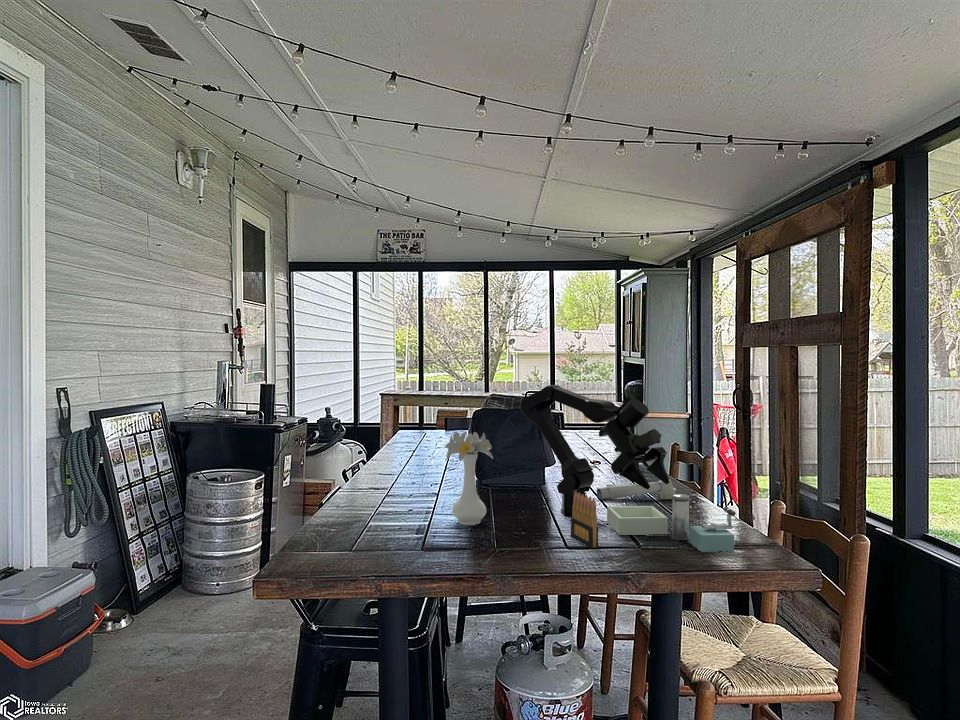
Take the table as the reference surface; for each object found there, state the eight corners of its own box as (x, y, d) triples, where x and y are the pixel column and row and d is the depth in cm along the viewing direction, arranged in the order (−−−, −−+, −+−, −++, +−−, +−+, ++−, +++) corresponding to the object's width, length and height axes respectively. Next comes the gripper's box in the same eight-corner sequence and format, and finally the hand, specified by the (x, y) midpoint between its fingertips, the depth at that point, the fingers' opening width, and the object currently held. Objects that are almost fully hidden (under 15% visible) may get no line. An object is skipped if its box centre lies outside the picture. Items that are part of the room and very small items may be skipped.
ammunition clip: (598, 548, 163) (599, 498, 163) (591, 549, 163) (592, 499, 162) (576, 536, 173) (577, 489, 173) (570, 537, 173) (570, 490, 172)
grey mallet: (595, 486, 217) (670, 474, 219) (597, 506, 217) (673, 494, 219) (599, 489, 212) (676, 477, 214) (602, 510, 212) (679, 498, 214)
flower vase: (483, 512, 197) (484, 426, 196) (498, 530, 178) (498, 435, 178) (439, 514, 194) (439, 427, 193) (449, 532, 176) (449, 436, 175)
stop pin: (675, 541, 169) (675, 497, 169) (669, 536, 173) (669, 493, 173) (691, 541, 169) (692, 497, 169) (685, 536, 174) (686, 493, 173)
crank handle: (707, 532, 162) (707, 511, 162) (698, 526, 167) (699, 506, 167) (736, 531, 162) (736, 511, 162) (727, 526, 168) (727, 506, 167)
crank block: (700, 552, 161) (701, 535, 160) (688, 542, 168) (688, 526, 168) (733, 551, 161) (734, 534, 161) (720, 541, 169) (720, 525, 169)
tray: (619, 535, 174) (619, 518, 174) (606, 522, 186) (607, 506, 186) (667, 535, 174) (667, 517, 174) (652, 522, 187) (652, 506, 187)
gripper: (620, 422, 173) (658, 471, 165) (660, 417, 186) (697, 462, 178) (595, 449, 179) (630, 498, 171) (635, 442, 192) (670, 487, 184)
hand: (658, 485), depth 176 cm, fingers open, 9 cm apart
